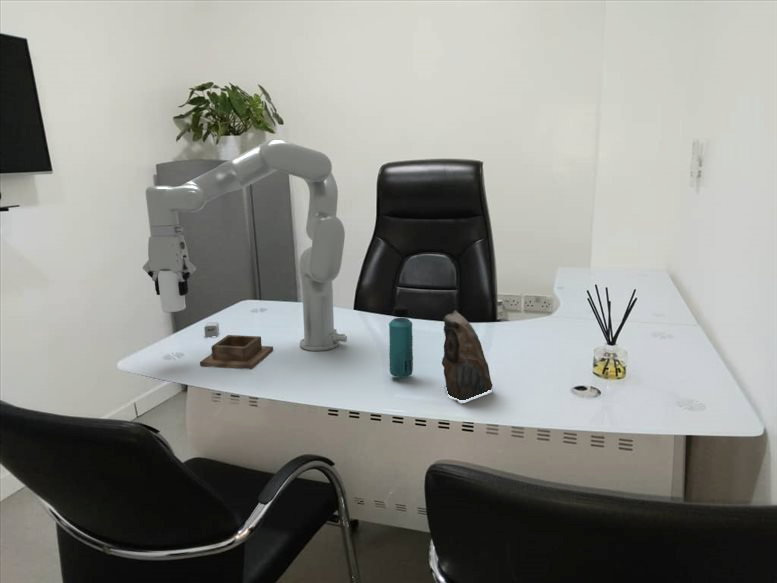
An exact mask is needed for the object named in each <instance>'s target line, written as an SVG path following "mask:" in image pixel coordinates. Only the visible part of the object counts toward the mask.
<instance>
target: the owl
mask: <svg viewBox="0 0 777 583" xmlns="http://www.w3.org/2000/svg"><path fill="white" fill-rule="evenodd" d="M442 320H443V322H444V326H443V333H444V337H445V339H444V343H443V357H442V360H441V364H442V366H443V375H444V380H445V386H446V387H447V390H446V391H448V394H449V395H450V396H452V397H454V398H457V399H459V400H466V399H469V398H471V397H474V396H476V395H479V394H482V393H484V392H487V391H488V390H491V389H492V390H493V382H492V379H491V374H490V367H489V364H488V362H487V359H486V357H485V354H484V350H483V346H482V343H481V341H480V338H479V336H478V334H477V333H476V331H475V329H474V328H473V326H472V324H471V323H470V322H469V321H468V320H467V319H466V318H465V317H464V316H463V315H462V314H460V313H459V312H458V311H457V310H453V311H452V313H449V314H448V313H447V314H446V315H445V316H444V317H443V319H442ZM448 394H447V395H448Z"/></svg>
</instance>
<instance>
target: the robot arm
mask: <svg viewBox="0 0 777 583" xmlns="http://www.w3.org/2000/svg"><path fill="white" fill-rule="evenodd" d="M332 169H333V164H332V162H331V159H330V158H329V157H328V156H327V155H326V154H325V153H323V152H321V151H318V150H315V149H311V148H309V147H304V146H302V145H299V144H295V143H293V142H289V141H287V140H283V139H278V138H277V139H271V140H270V139H269V140H267V141H264V142H262V143H260V144H258V145H256V146H254V147H253V148H251V149H248V150H247V151H246V150H245V152H243V153H241V154H239V155H237V156H235V157H233V158H231V159H228V160H227V161H225V162H223V163H221V164H220V165H218V166H216V167H215V168H213V169H211V170H209V171H207V172H205V173H203V174H201V175H199V176H198V177H197V176H196V177H195V178H193V179H191V180H189V181H187V182H185V183H183V184H182V185H179V186H171V185H151V186H148V187H146V189H145V199H146V200H145V201H146V208H147V215H148V224H149V225H148V226H149V231H150V236H149V237H148V243H147V246H148V247H147V248H148V249H147V250H148V251H147V253H148V255H147V256H148V260H147V261H146V262H145V264H144V265H143V266H142V269H143V270H144V271H145V272H146V273H147V275H148V276H149V277H150V278H151V280H152V281H153V282H154V289H155V292H156V296H160V291H159V283H158V273H159V270H172V272H176V274H177V276H178V278H179V280H180V282H178V285H179V294H180V296H183V295H187V294H188V292H189V285H188V280H189V279H190V277H191V276H192V275H193V273H194V272H195V271H196V270H197V267H196V265H194V264H193V263H192V262H191V261H190V258H189V252H188V246H187V243H186V241H185V237H184V235H183V234H181V233H183V232H184V227H183V226H181V225H180V222H179V215H178V214H179V212H185V213H196V212H199V211H201V210H202V209H204V207H205V205H206V203H208V202H210V201H212V200H214V199H216V198H217V197H220V196H223V195H225V194H227V193H230V192H235V191H239V190H242V189H244V188H247V187H248V186H251V185H252V184H254V183H256V182H257V181H260V180H261V179H264V178H266V177H267V176H270V175H271V174H273V173H275V172H280V173H285V174H287V175H290V176H293V177H297V178H300V179H302V180H303V181H304V182H305V183H306V185H307V188H308V191H309V201H308V202H309V203H308V211H307V219H306V226H305V233H306V235H307V237H308V238H309V239H310V240H311V247H308V248H306V249H305V250H304V251H303V252H302V253H301V255H300V257H299V261H298V262H299V265H298V266H299V274H300V280H301V281H300V283H301V294H302V313H303V336H304V337H303V338H302V339H301V340H300V341H299V347H300V348H302V349H303V350H307V351H313V352H319V351H320V352H321V351H327V350H332V349H335V348H337V347H338V346H339V345H340V342H343V343H346V342H348V336H347V335H346V334H345V333H338V332H337V331H338V330H337V328H336V329H335V324H334V323H335V322H334V320H335V319H334V290H333V281H335V279H336V278H337V277H338V276H339V273H340V271H341V268H342V267H341V266H342V261H343V255H344V245H345V236H346V235H345V234H346V231H345V227H344V223H343V222H342V221H341V219H340V218H339V217H338V216H337V213H338V212H337V211H338V196H339V193H338V192H339V191H338V185H337V184H338V183H337V181H336V179H335V177H334V175H333V173H332V171H333V170H332ZM186 270H187V271H186Z"/></svg>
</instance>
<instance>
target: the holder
mask: <svg viewBox="0 0 777 583" xmlns="http://www.w3.org/2000/svg"><path fill="white" fill-rule="evenodd" d="M210 347H211V353H210V354H209V355H208V356H206V357H205V358H203V359H202V360H201V361H200V362H199V366H200V365H201V367H210V366H215V367H214V368H227V367H229V368H228V369H243V368H250V369H249V370H253V369H254V368H255V367H256V366H257V365H259V363H261V362H262V361H263V360H264V359H265V358H266V357H267V356H268V355H269V354H271V353H272V352H273V351H274V346H271V345H270V346H268V345H263V344H262V336H254V335H237V334H235V335H233V334H228V335H226V336H224V337H223V338H221V339H219V340H218V341H217V342H216V343H214V344H213V345H212V346H210ZM260 361H261V362H260ZM253 367H254V368H253ZM252 368H253V369H252Z"/></svg>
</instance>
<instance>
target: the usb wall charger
mask: <svg viewBox="0 0 777 583" xmlns="http://www.w3.org/2000/svg"><path fill="white" fill-rule="evenodd" d="M219 326H220V325H219V322H217V321H212V322H211V321H209V322H207V323H206V324H205V325H204V327H203V328H204V336H205V338H213V337H212V336H216V337H217V336H218V335H219V332H220V327H219Z"/></svg>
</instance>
